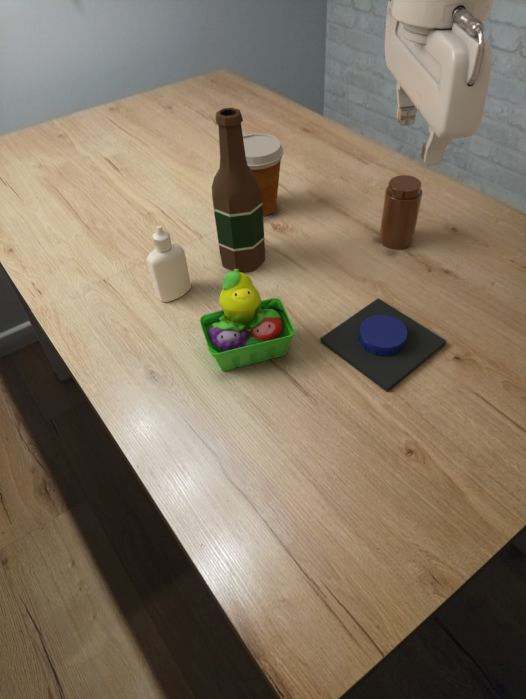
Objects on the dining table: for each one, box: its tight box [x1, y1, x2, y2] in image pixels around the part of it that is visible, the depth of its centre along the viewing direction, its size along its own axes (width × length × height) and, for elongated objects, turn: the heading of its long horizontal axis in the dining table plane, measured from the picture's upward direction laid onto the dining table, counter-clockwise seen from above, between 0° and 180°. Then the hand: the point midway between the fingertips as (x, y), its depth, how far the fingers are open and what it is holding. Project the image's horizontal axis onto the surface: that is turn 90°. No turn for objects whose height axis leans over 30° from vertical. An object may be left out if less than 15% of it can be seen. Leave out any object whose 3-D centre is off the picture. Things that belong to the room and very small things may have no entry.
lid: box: [359, 315, 407, 356], centre depth 70 cm, size 6×6×2 cm
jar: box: [378, 174, 423, 250], centre depth 83 cm, size 6×6×10 cm
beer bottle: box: [211, 107, 266, 273], centre depth 76 cm, size 8×8×24 cm
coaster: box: [319, 297, 447, 393], centre depth 70 cm, size 12×12×1 cm
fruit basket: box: [199, 269, 296, 372], centre depth 67 cm, size 11×9×11 cm
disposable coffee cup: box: [243, 132, 285, 217], centre depth 91 cm, size 10×10×12 cm
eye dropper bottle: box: [146, 225, 192, 303], centre depth 76 cm, size 4×6×12 cm
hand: (417, 141), depth 57 cm, fingers open, 8 cm apart
